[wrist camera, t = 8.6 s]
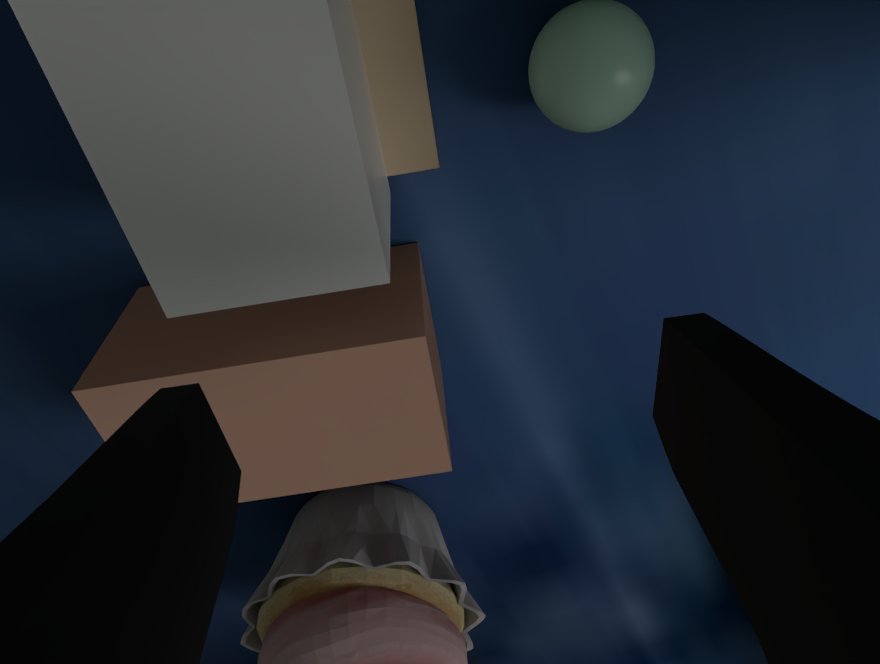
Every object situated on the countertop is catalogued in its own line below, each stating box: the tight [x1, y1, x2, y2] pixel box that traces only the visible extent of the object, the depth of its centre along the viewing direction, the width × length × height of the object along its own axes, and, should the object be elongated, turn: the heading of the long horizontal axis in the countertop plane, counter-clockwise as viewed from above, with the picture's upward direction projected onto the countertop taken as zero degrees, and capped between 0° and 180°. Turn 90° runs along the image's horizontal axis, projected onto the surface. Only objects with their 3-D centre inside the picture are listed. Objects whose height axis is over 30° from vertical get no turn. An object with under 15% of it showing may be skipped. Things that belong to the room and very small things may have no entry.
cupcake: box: [240, 482, 485, 664], centre depth 23 cm, size 9×9×10 cm
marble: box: [528, 0, 655, 133], centre depth 15 cm, size 3×3×3 cm
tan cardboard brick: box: [71, 242, 452, 503], centre depth 18 cm, size 9×5×5 cm, turn 98°
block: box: [8, 0, 390, 318], centre depth 13 cm, size 9×5×5 cm, turn 8°
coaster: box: [351, 0, 439, 176], centre depth 15 cm, size 8×8×1 cm
